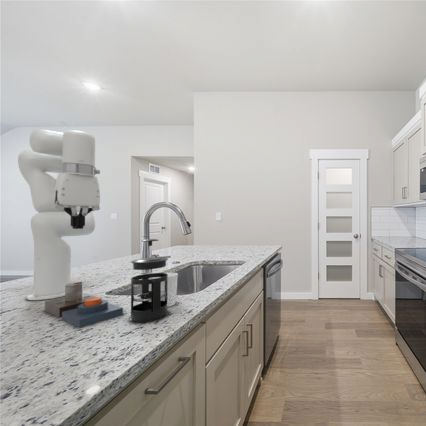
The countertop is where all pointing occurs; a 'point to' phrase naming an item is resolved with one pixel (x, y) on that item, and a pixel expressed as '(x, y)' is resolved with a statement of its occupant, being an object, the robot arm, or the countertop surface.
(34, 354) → the countertop surface
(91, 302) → the release button
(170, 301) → the white cup
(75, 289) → the lock knob
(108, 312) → the button block
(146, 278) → the french press
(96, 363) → the countertop surface
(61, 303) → the panel
